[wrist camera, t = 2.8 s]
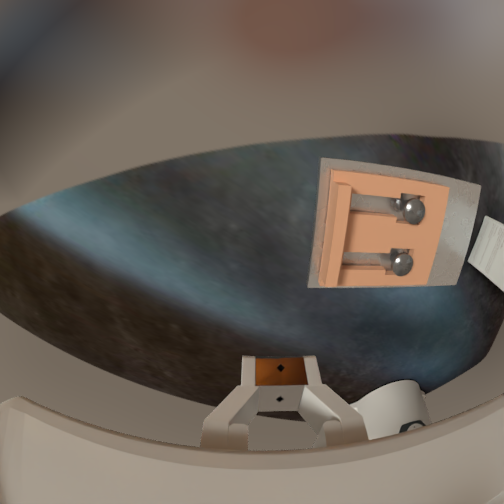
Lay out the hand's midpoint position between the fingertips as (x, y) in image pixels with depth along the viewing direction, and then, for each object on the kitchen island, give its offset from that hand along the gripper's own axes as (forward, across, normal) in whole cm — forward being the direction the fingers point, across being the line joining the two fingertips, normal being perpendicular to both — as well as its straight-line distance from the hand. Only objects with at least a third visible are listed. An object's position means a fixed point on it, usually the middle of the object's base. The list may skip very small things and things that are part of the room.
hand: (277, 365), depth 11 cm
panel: (+18, -13, 0) cm, 22 cm away
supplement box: (+19, -33, +1) cm, 38 cm away
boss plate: (+19, -16, 0) cm, 25 cm away
